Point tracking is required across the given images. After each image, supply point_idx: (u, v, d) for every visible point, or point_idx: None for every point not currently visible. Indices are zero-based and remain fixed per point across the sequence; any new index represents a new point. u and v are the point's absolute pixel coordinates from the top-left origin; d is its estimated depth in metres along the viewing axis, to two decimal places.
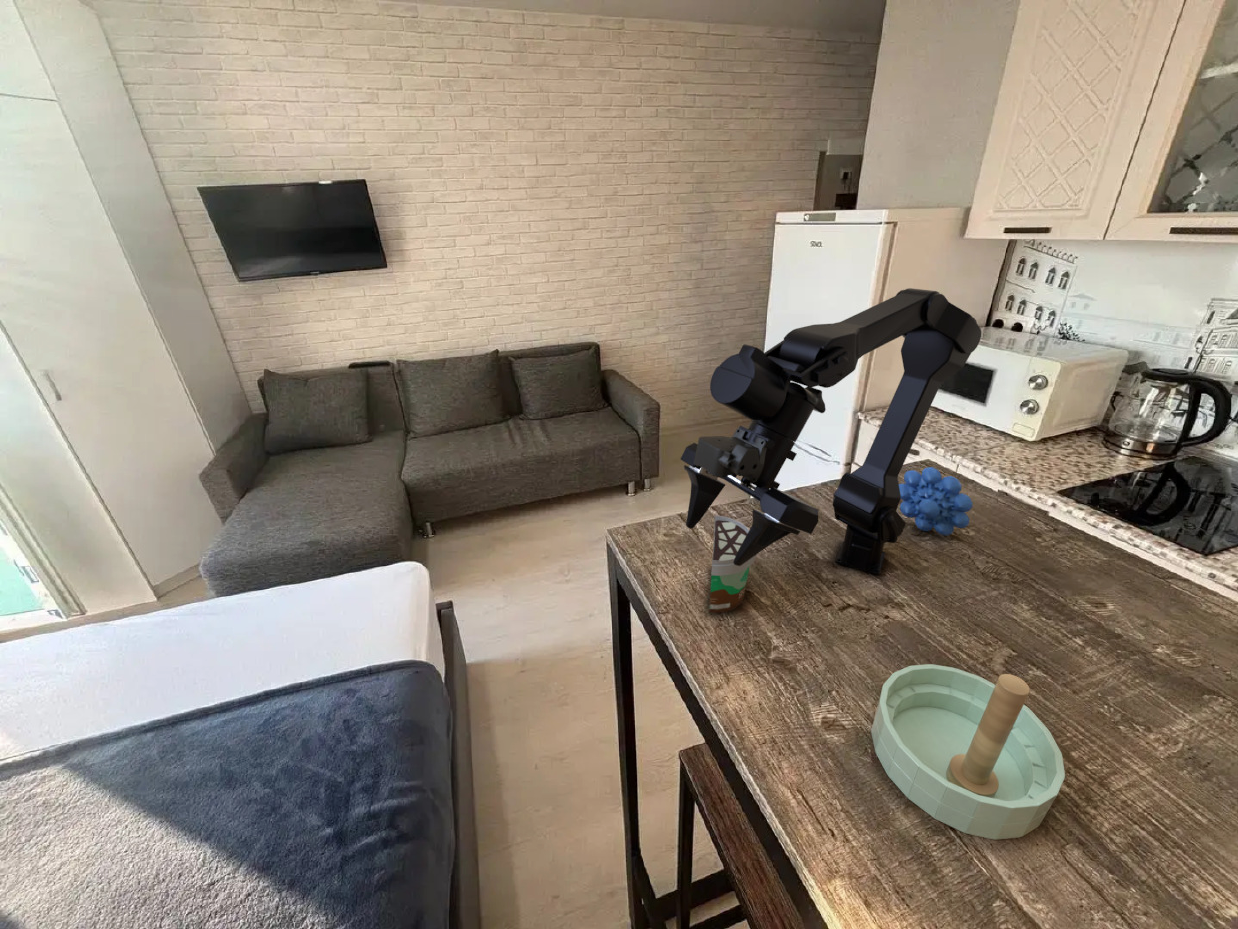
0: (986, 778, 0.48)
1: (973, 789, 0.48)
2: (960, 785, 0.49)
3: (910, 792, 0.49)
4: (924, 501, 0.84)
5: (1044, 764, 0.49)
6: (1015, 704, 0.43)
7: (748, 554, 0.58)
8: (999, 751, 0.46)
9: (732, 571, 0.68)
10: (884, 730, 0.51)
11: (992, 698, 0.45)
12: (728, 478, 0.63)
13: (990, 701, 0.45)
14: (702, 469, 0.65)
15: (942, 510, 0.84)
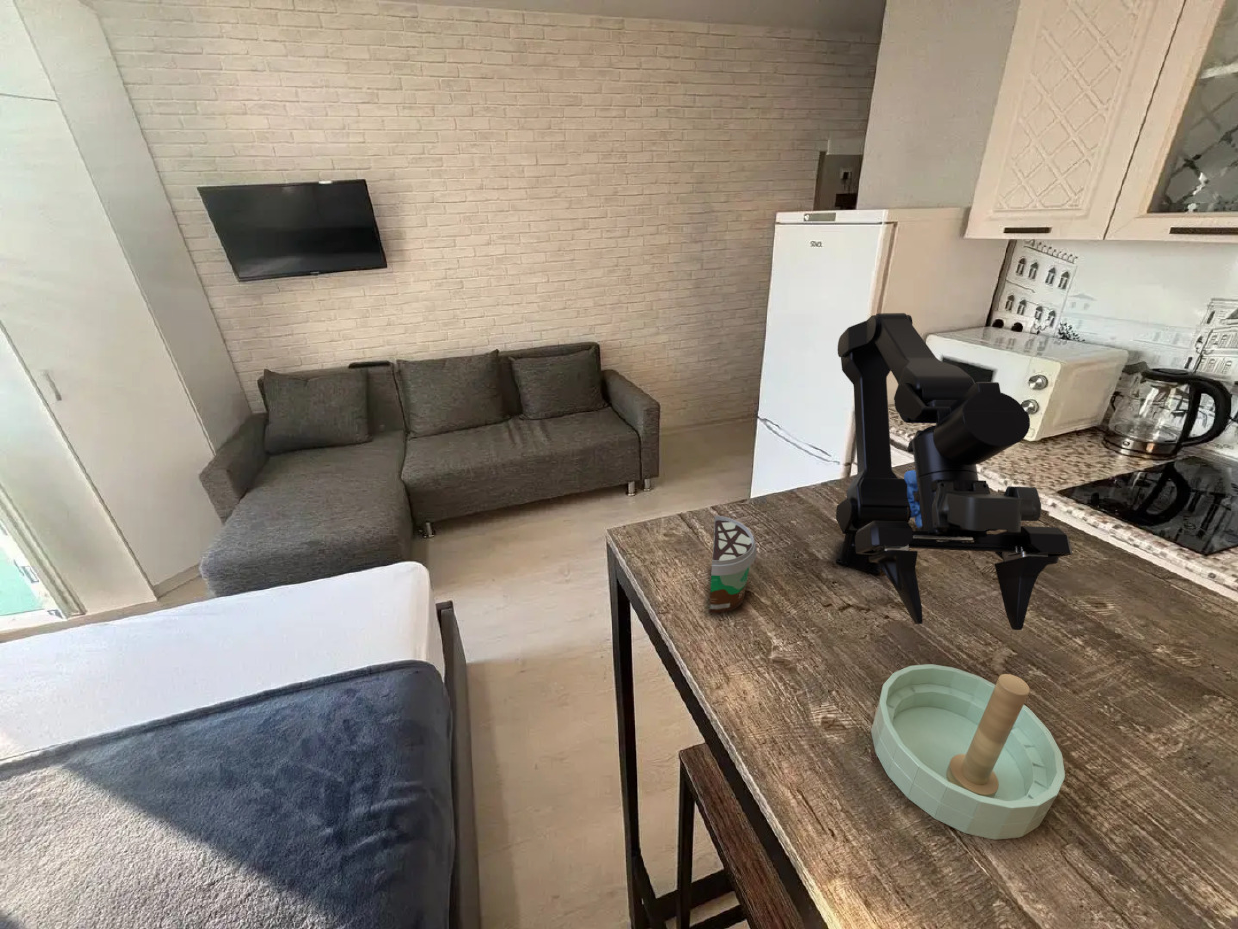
0: (986, 778, 0.48)
1: (973, 789, 0.48)
2: (960, 785, 0.49)
3: (910, 792, 0.49)
4: None
5: (1044, 764, 0.49)
6: (1015, 704, 0.43)
7: None
8: (999, 751, 0.46)
9: (732, 571, 0.68)
10: (884, 730, 0.51)
11: (992, 698, 0.45)
12: (935, 544, 0.54)
13: (990, 701, 0.45)
14: None
15: None
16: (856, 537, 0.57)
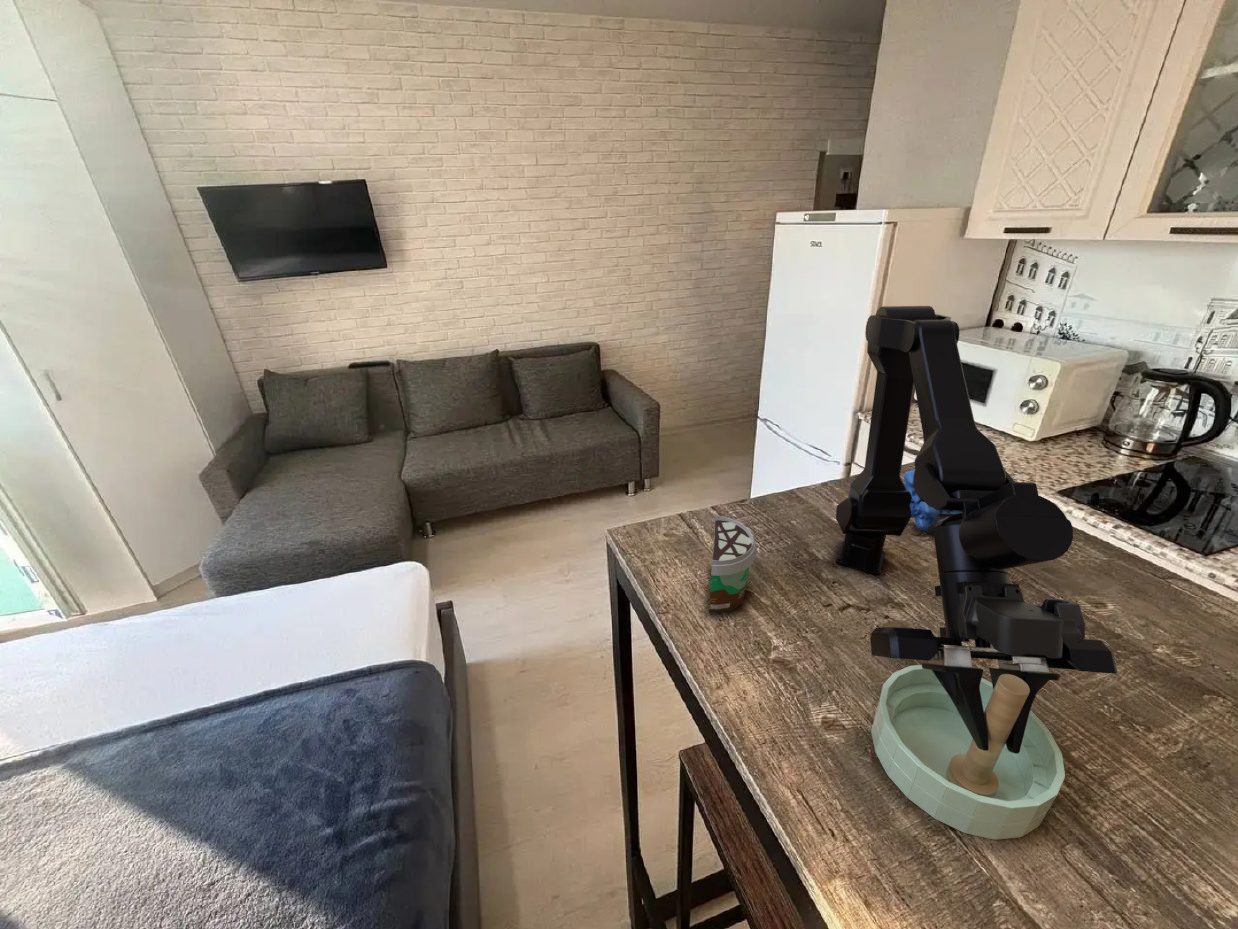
0: (986, 778, 0.48)
1: (973, 789, 0.48)
2: (960, 785, 0.49)
3: (910, 792, 0.49)
4: None
5: (1044, 764, 0.49)
6: (1015, 704, 0.43)
7: None
8: (999, 751, 0.46)
9: (732, 571, 0.68)
10: (884, 730, 0.51)
11: (992, 698, 0.45)
12: (999, 655, 0.48)
13: (990, 701, 0.45)
14: (971, 660, 0.47)
15: (942, 510, 0.84)
16: (872, 638, 0.52)
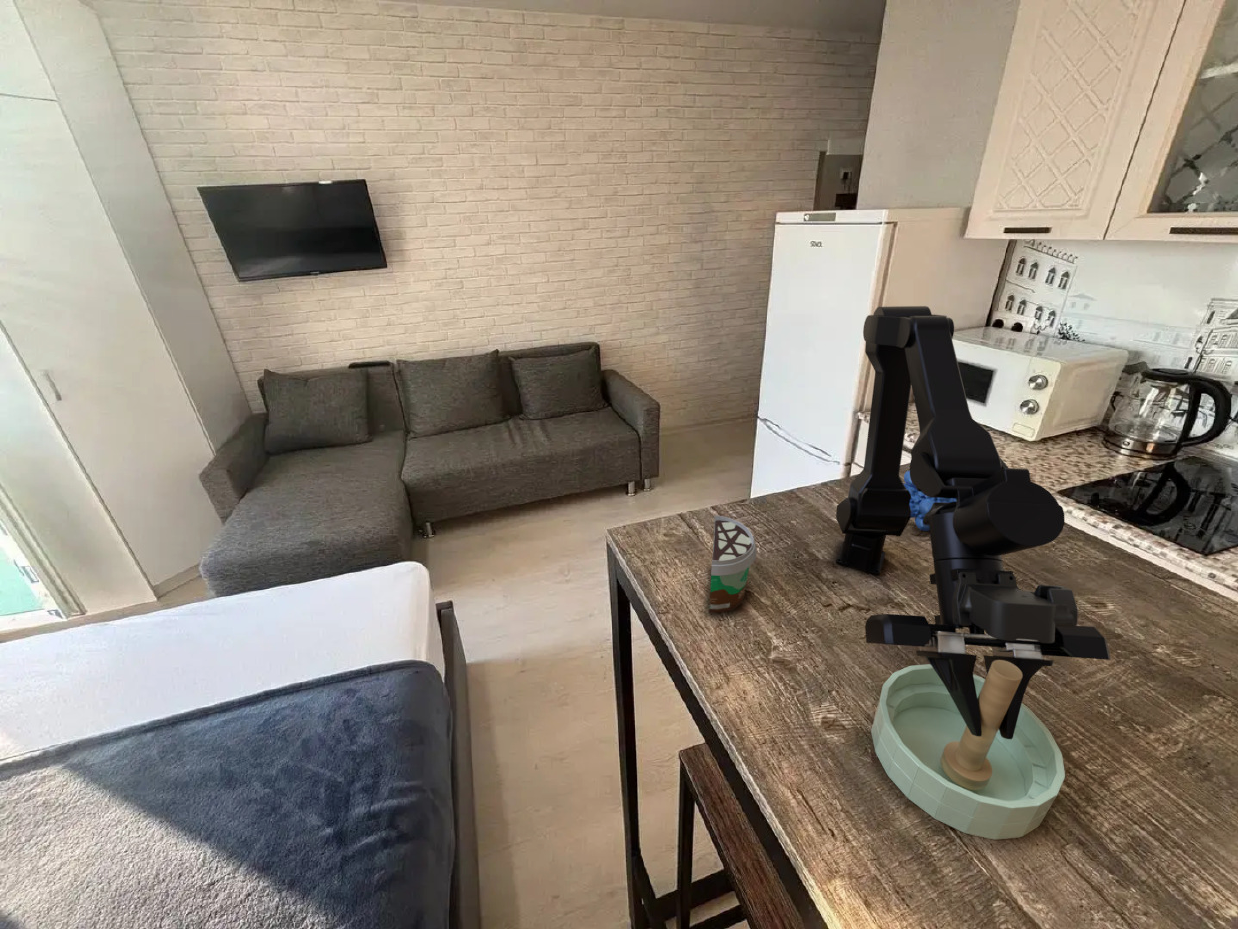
0: (980, 764, 0.48)
1: (966, 775, 0.48)
2: (954, 771, 0.49)
3: (910, 792, 0.49)
4: (924, 501, 0.84)
5: (1044, 764, 0.49)
6: (1008, 689, 0.44)
7: None
8: (992, 737, 0.46)
9: (732, 571, 0.68)
10: (884, 730, 0.51)
11: (985, 684, 0.45)
12: (993, 642, 0.48)
13: (983, 687, 0.45)
14: (964, 646, 0.47)
15: None
16: (866, 625, 0.52)
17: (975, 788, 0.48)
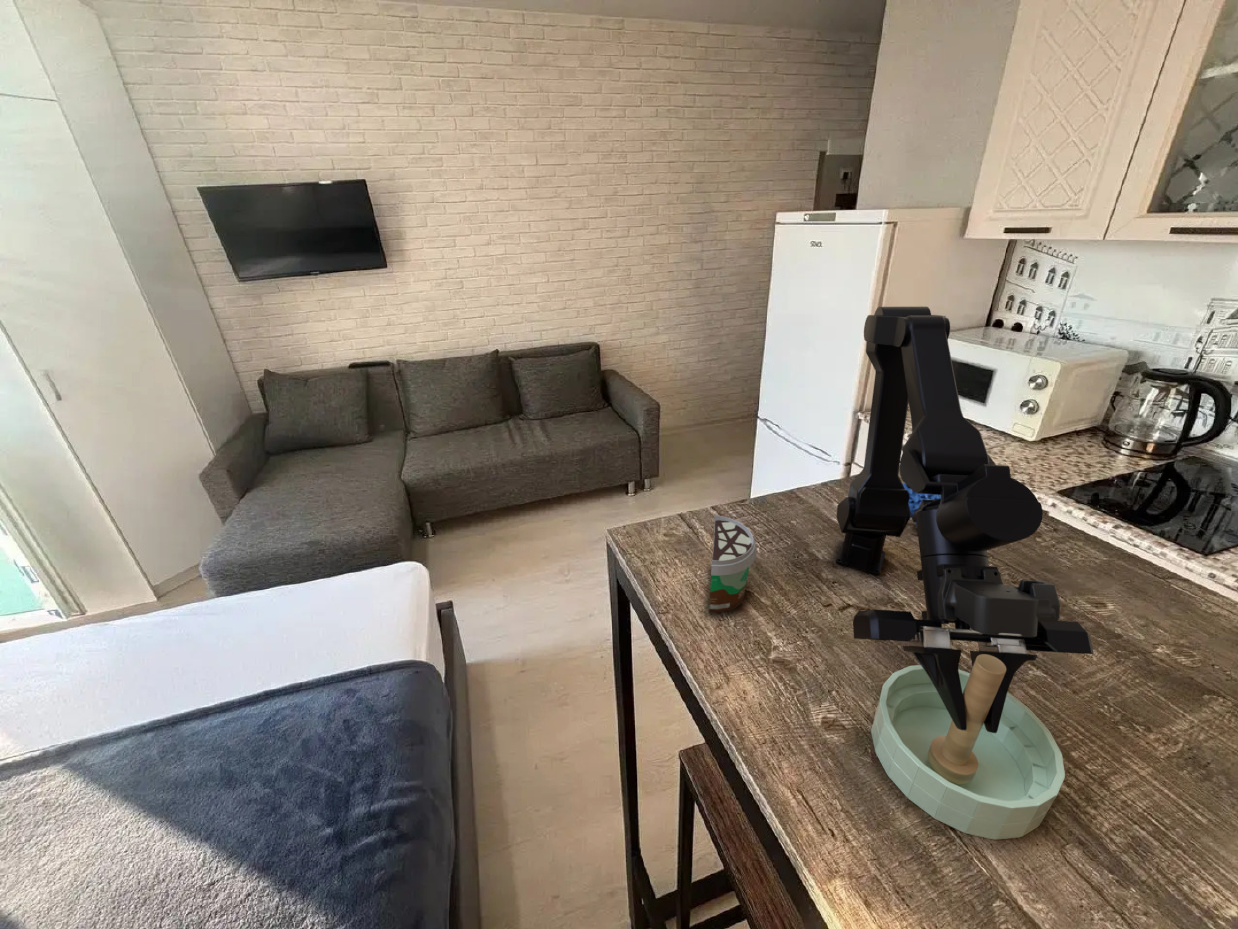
0: (966, 758, 0.49)
1: (952, 769, 0.49)
2: (940, 765, 0.49)
3: (910, 792, 0.49)
4: None
5: (1044, 764, 0.49)
6: (992, 683, 0.44)
7: None
8: (978, 731, 0.47)
9: (732, 571, 0.68)
10: (884, 730, 0.51)
11: (970, 678, 0.46)
12: (978, 637, 0.48)
13: (968, 681, 0.46)
14: (950, 641, 0.47)
15: None
16: (854, 621, 0.52)
17: (961, 782, 0.49)
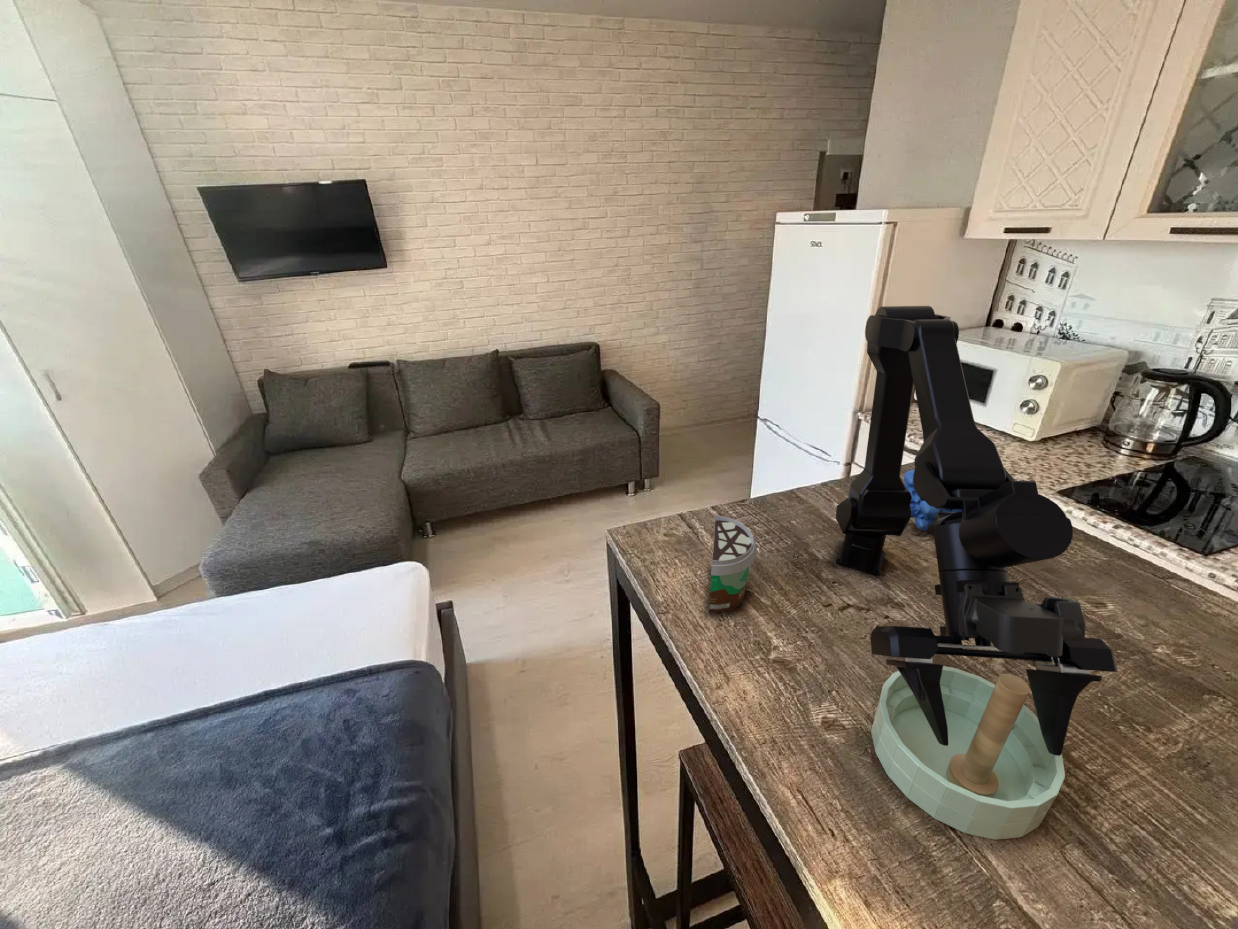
0: (986, 778, 0.48)
1: (973, 788, 0.48)
2: (960, 785, 0.49)
3: (910, 792, 0.49)
4: (924, 501, 0.84)
5: (1044, 764, 0.49)
6: (1015, 703, 0.43)
7: None
8: (999, 751, 0.46)
9: (732, 571, 0.68)
10: (884, 730, 0.51)
11: (992, 698, 0.45)
12: (961, 651, 0.48)
13: (990, 701, 0.45)
14: None
15: (942, 510, 0.84)
16: (872, 637, 0.51)
17: None
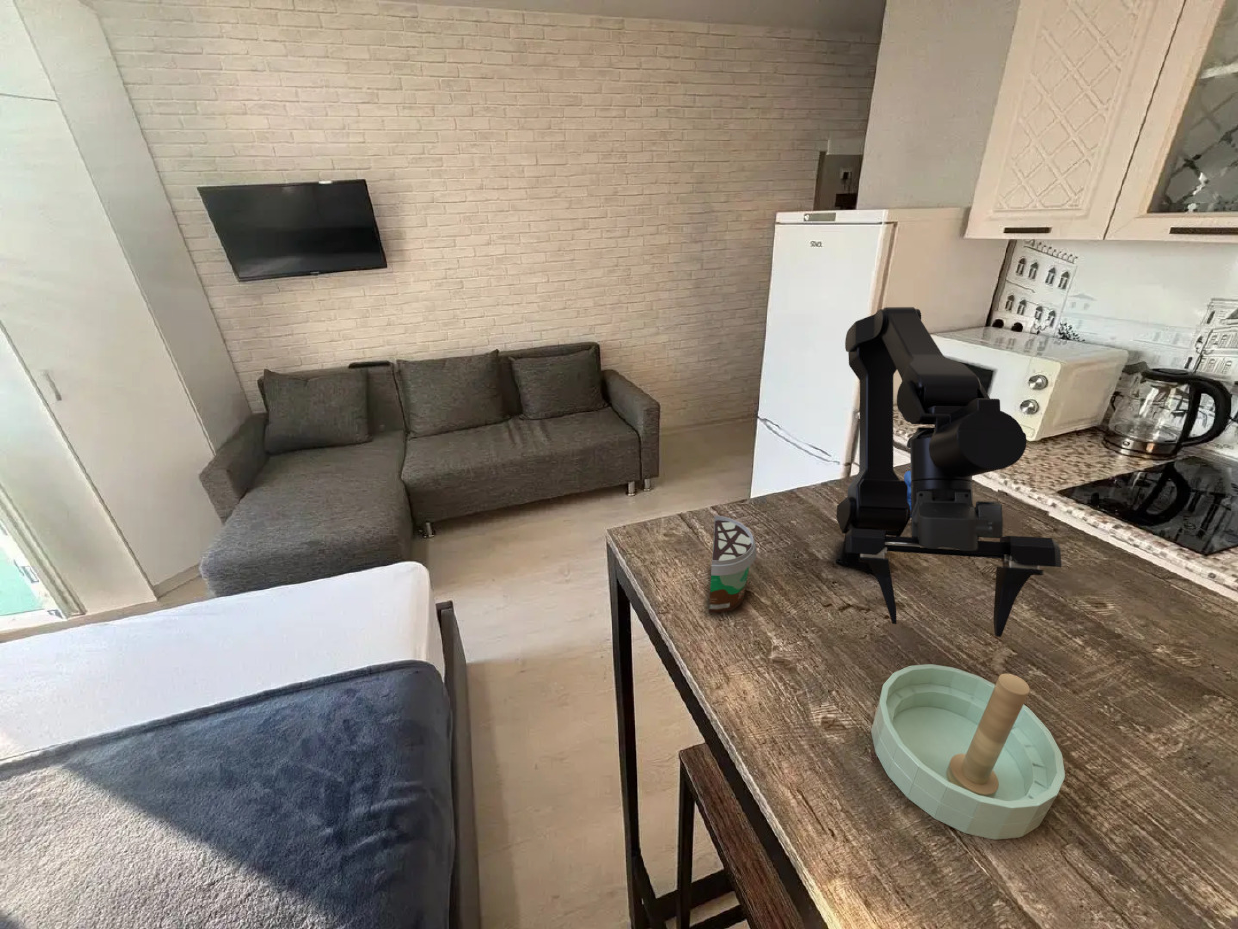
0: (986, 778, 0.48)
1: (973, 788, 0.48)
2: (960, 785, 0.49)
3: (910, 792, 0.49)
4: None
5: (1044, 764, 0.49)
6: (1015, 703, 0.43)
7: None
8: (999, 751, 0.46)
9: (732, 571, 0.68)
10: (884, 730, 0.51)
11: (992, 698, 0.45)
12: (918, 549, 0.55)
13: (990, 701, 0.45)
14: (884, 552, 0.56)
15: None
16: None
17: None
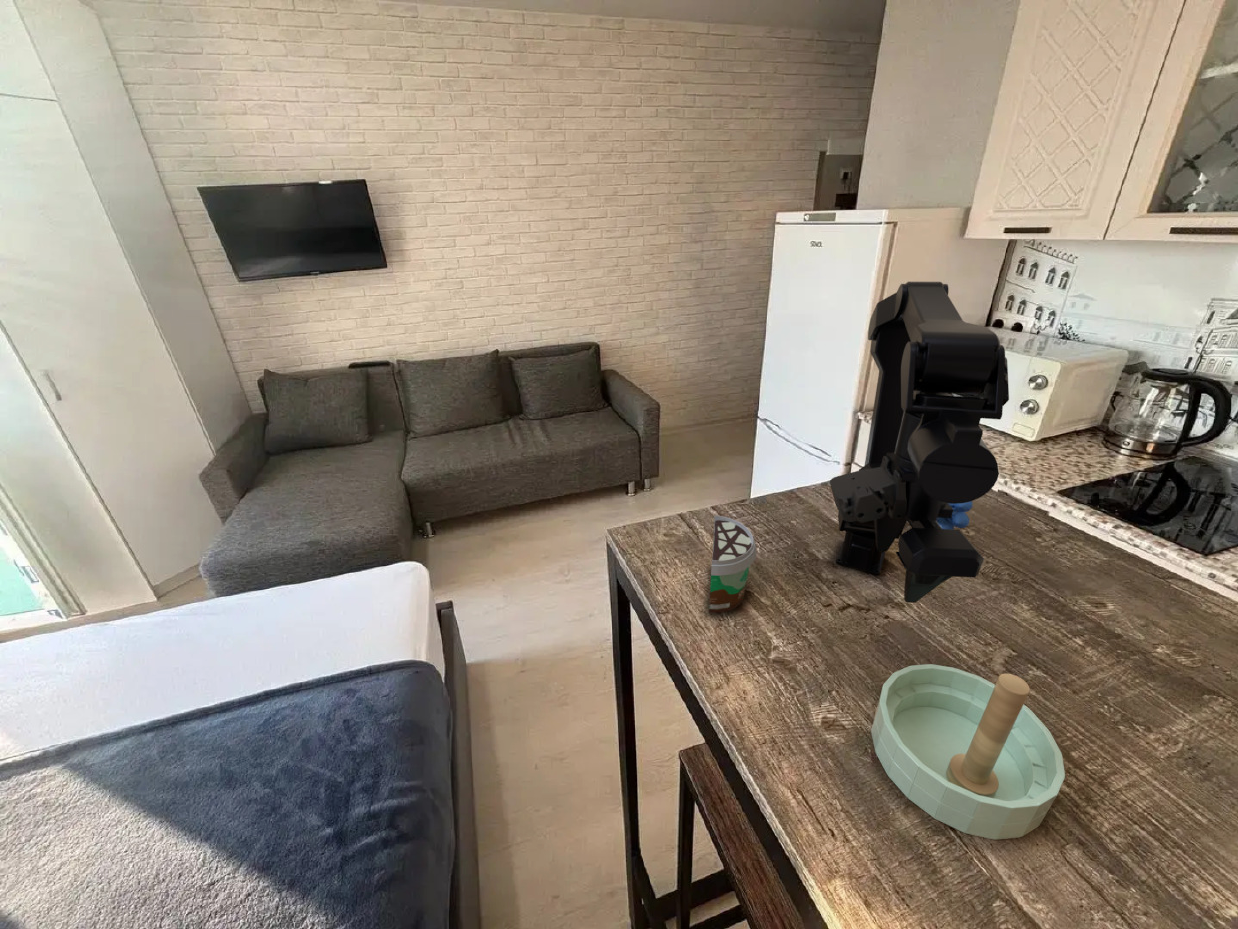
0: (986, 778, 0.48)
1: (973, 788, 0.48)
2: (960, 785, 0.49)
3: (910, 792, 0.49)
4: None
5: (1044, 764, 0.49)
6: (1015, 703, 0.43)
7: (916, 592, 0.54)
8: (999, 751, 0.46)
9: (732, 571, 0.68)
10: (884, 730, 0.51)
11: (992, 698, 0.45)
12: None
13: (990, 701, 0.45)
14: None
15: None
16: None
17: None
